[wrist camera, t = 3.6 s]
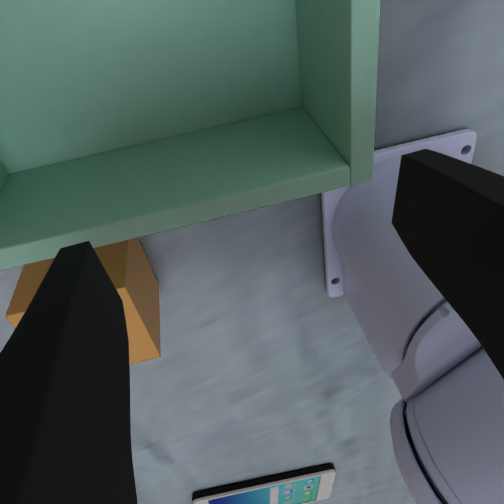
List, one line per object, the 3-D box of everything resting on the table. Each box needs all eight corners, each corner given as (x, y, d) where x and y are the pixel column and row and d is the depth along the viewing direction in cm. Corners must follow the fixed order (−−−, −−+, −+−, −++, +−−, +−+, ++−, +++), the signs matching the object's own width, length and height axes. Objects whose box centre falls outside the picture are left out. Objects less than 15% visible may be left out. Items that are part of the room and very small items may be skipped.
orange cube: (159, 284, 23) (160, 357, 20) (75, 305, 23) (60, 382, 19) (129, 216, 20) (125, 287, 16) (32, 240, 20) (4, 316, 16)
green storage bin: (316, 113, 19) (373, 181, 14) (5, 185, 18) (-48, 282, 13) (291, -334, 11) (404, -533, 6) (-261, -233, 10) (-628, -364, 5)
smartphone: (330, 498, 47) (199, 528, 45) (327, 490, 48) (198, 519, 46) (337, 470, 42) (191, 502, 40) (334, 462, 43) (190, 493, 41)
